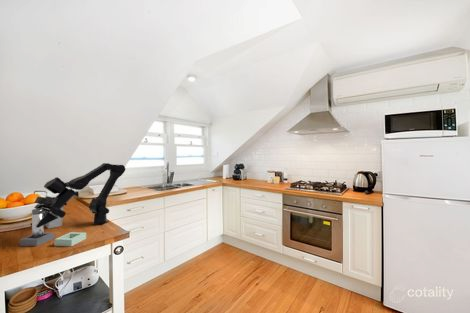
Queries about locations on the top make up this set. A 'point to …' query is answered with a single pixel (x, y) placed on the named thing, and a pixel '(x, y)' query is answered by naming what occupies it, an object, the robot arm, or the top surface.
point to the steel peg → (36, 218)
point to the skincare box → (55, 222)
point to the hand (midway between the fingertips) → (34, 226)
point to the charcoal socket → (36, 239)
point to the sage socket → (69, 239)
